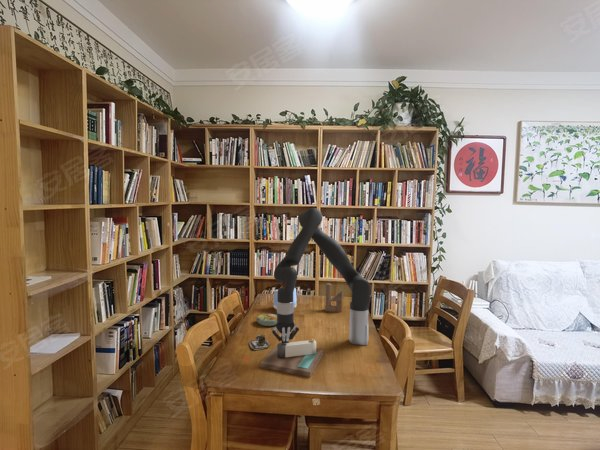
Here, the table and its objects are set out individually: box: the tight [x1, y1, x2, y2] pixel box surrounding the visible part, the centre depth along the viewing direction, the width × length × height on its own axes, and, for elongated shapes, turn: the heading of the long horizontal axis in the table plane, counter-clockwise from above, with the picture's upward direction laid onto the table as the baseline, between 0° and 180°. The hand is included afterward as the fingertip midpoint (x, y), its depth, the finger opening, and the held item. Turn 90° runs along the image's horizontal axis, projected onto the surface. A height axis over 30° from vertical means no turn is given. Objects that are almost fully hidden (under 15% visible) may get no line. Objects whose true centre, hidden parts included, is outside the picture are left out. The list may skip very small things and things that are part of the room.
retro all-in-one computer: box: [272, 287, 298, 310], centre depth 204 cm, size 21×19×14 cm
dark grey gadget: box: [249, 334, 270, 351], centre depth 153 cm, size 12×6×11 cm
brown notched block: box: [324, 282, 343, 313], centre depth 203 cm, size 4×11×18 cm, turn 81°
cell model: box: [256, 313, 277, 327], centre depth 179 cm, size 11×8×15 cm
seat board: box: [259, 345, 324, 378], centre depth 137 cm, size 22×20×2 cm
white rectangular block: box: [276, 338, 317, 358], centre depth 138 cm, size 18×4×6 cm, turn 105°
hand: (285, 348), depth 140 cm, fingers closed
